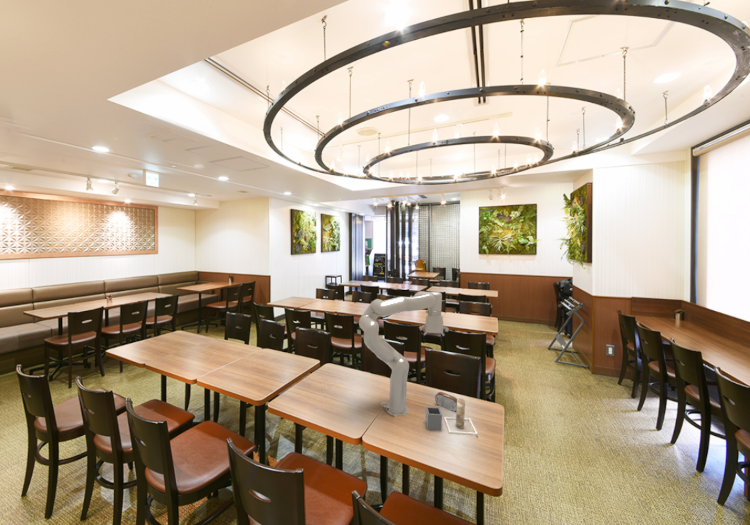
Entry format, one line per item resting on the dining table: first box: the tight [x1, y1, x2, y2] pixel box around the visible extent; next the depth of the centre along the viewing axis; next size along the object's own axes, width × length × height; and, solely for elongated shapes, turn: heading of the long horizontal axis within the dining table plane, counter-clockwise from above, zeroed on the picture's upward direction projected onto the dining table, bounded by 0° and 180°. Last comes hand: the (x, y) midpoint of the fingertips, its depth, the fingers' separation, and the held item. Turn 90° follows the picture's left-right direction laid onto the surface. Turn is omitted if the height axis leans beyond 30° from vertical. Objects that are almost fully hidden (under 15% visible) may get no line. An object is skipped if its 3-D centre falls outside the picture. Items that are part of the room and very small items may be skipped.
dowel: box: [455, 398, 466, 430], centre depth 148 cm, size 4×4×14 cm
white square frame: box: [443, 416, 479, 438], centre depth 148 cm, size 14×13×2 cm
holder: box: [425, 406, 443, 432], centre depth 148 cm, size 7×7×9 cm
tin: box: [434, 391, 458, 413], centre depth 166 cm, size 15×3×8 cm, turn 49°
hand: (433, 341), depth 168 cm, fingers open, 9 cm apart
